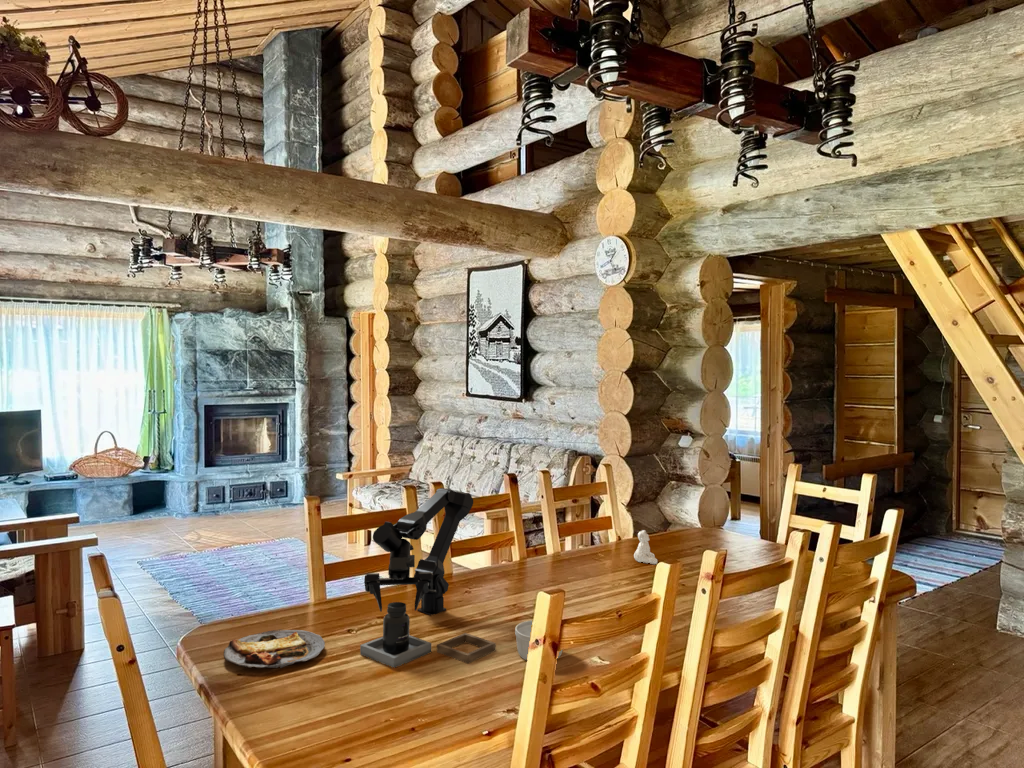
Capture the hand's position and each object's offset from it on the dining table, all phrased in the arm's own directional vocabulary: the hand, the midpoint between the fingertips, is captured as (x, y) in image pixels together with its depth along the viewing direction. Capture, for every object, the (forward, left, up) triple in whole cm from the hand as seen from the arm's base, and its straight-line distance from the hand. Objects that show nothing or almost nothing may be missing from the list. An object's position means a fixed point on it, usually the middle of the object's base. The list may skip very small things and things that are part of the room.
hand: (398, 610), depth 199 cm
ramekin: (+34, +19, -9) cm, 40 cm away
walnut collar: (+18, +8, -9) cm, 21 cm away
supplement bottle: (+5, -5, -8) cm, 11 cm away
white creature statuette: (+11, +117, -9) cm, 118 cm away
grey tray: (+5, -5, -9) cm, 11 cm away
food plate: (-19, -26, -9) cm, 33 cm away
